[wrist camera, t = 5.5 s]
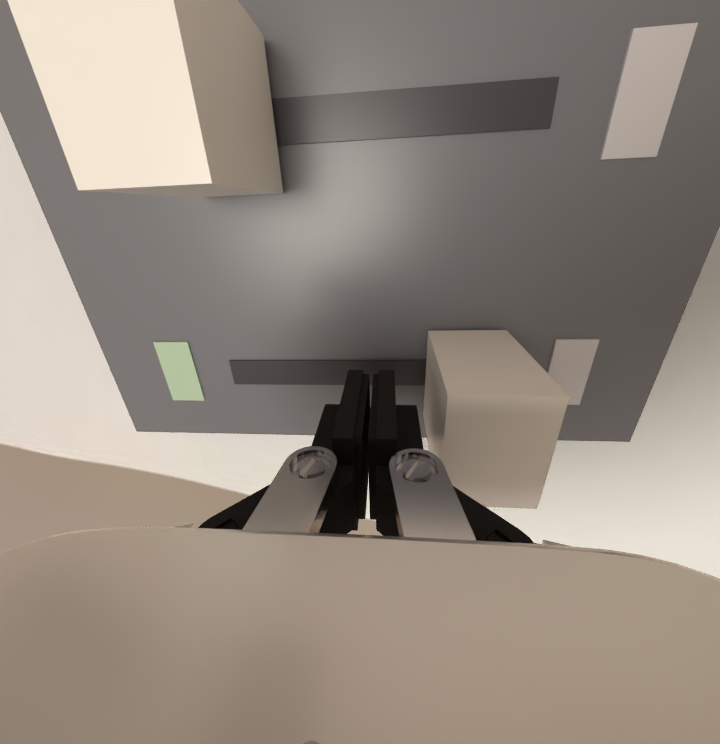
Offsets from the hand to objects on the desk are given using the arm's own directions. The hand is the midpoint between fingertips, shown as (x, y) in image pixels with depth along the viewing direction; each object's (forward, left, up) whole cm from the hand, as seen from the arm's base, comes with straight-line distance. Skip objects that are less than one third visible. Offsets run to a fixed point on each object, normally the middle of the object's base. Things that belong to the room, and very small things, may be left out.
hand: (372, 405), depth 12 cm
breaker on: (+4, -9, -2) cm, 10 cm away
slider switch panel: (0, -5, -5) cm, 7 cm away
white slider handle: (-4, 0, -2) cm, 4 cm away
